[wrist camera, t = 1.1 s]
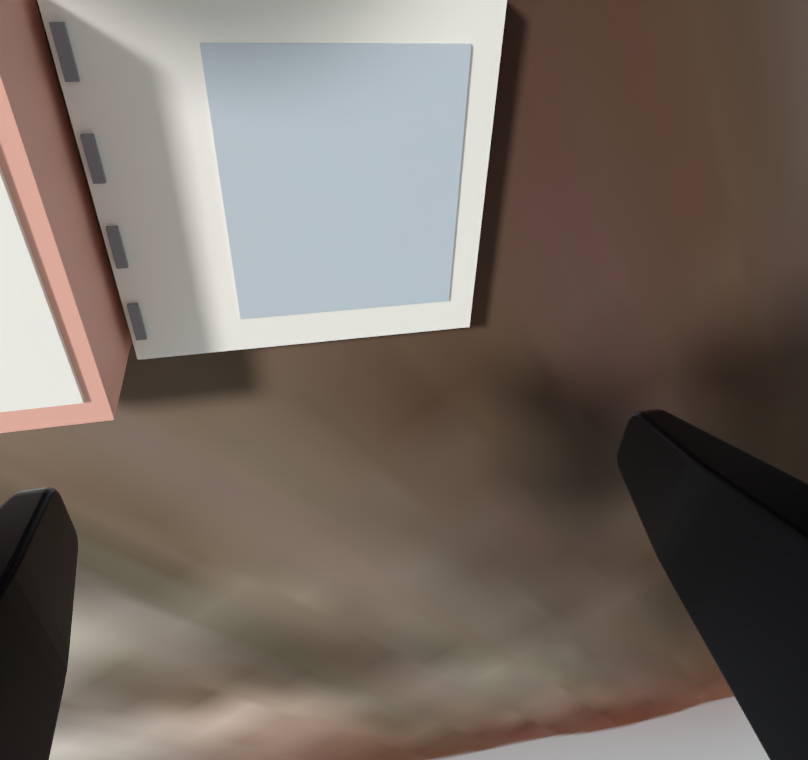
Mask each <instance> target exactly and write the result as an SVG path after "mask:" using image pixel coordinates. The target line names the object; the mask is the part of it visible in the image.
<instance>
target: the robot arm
mask: <svg viewBox="0 0 808 760" xmlns="http://www.w3.org/2000/svg"><path fill="white" fill-rule="evenodd" d="M617 463H618V467H619V470H620V473H621V475H622V477H623V480H624V482H625V484H626V487H627V489H628V491H629V493H630V496H631V498H632V500H633V503H634V505H635V507H636V510H637V512H638V514H639V517H640V519H641V521H642V524H643V526H644V528H645V531H646V533H647V535H648V538H649V540H650V542H651V544H652V547H653V549H654V551H655V553H656V555H657V557H658V559H659V561H660V563H661V565H662V567H663V569H664V571H665V572H666V574H667V576H668V578H669V580H670V581H671V583H672V585H673V587H674V589H675V590H676V592H677V594H678V596H679V598H680V599H681V601H682V603H683V605H684V607H685V608H686V610H687V612H688V614H689V615H690V617H691V619H692V621H693V623H694V624H695V626H696V628H697V630H698V632H699V633H700V635H701V637H702V639H703V640H704V642H705V644H706V646H707V648H708V649H709V651H710V653H711V655H712V657H713V658H714V660H715V662H716V664H717V666H718V667H719V669H720V671H721V673H722V674H723V676H724V678H725V680H726V682H727V683H728V685H729V687H730V689H731V691H732V692H733V694H734V696H735V698H736V699H737V701H738V703H739V705H740V707H741V708H742V710H743V712H744V714H745V715H746V717H747V719H748V721H749V723H750V724H751V726H752V728H753V730H754V732H755V733H756V735H757V737H758V739H759V741H760V742H761V744H762V746H763V748H764V749H765V751H766V753H767V755H768V757H769V759H770V760H808V484H807V483H805V482H803V481H801V480H799V479H797V478H795V477H793V476H791V475H789V474H787V473H785V472H784V471H782V470H780V469H778V468H776V467H774V466H772V465H770V464H768V463H766V462H764V461H762V460H760V459H758V458H756V457H754V456H752V455H750V454H748V453H746V452H744V451H742V450H740V449H738V448H736V447H734V446H732V445H730V444H729V443H727V442H725V441H723V440H721V439H719V438H717V437H715V436H713V435H711V434H709V433H707V432H705V431H703V430H701V429H699V428H697V427H695V426H693V425H691V424H689V423H687V422H685V421H683V420H681V419H679V418H677V417H675V416H674V415H672V414H670V413H668V412H666V411H663V410H659V409H654V410H647V411H639V412H635V413H634V414H633V415H632V416H631V417H630V418H629V420H628V423H627V426H626V429H625V432H624V435H623V438H622V440H621V443H620V446H619V449H618V453H617ZM77 555H78V540H77V534H76V531H75V528H74V526H73V523H72V521H71V519H70V516H69V514H68V512H67V509H66V507H65V505H64V502H63V500H62V498H61V496H60V494H59V492H58V491H57V490H56V489H54V488H50V487H47V488H40V489H32V490H24V491H20V492H17V493H15V494H14V495H12V496H11V497H10V498H9V499H8V500H7V501H6V502H5V503H4V504H3V505H2V506H1V507H0V760H49V755H50V750H51V746H52V741H53V736H54V731H55V727H56V722H57V717H58V712H59V708H60V703H61V698H62V694H63V689H64V683H65V677H66V672H67V665H68V656H69V646H70V635H71V623H72V612H73V600H74V589H75V577H76V566H77Z"/></svg>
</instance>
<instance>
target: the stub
mask: <svg viewBox="0 0 808 760" xmlns="http://www.w3.org/2000/svg"><path fill="white" fill-rule="evenodd" d="M131 343H132V341H131V338H130V334H129V331H128V327H127V324H126V320H125V317H124V313H123V309H122V306H121V302H120V299H119V295H118V292H117V288H116V285H115V281H114V277H113V274H112V270H111V267H110V263H109V260H108V256H107V252H106V249H105V245H104V242H103V238H102V235H101V231H100V228H99V224H98V220H97V217H96V213H95V210H94V206H93V203H92V199H91V195H90V192H89V188H88V185H87V181H86V178H85V174H84V171H83V167H82V163H81V160H80V156H79V153H78V149H77V146H76V142H75V139H74V135H73V131H72V128H71V124H70V121H69V117H68V114H67V110H66V106H65V103H64V99H63V96H62V92H61V89H60V85H59V82H58V78H57V74H56V71H55V67H54V64H53V60H52V57H51V53H50V49H49V46H48V42H47V39H46V35H45V32H44V28H43V25H42V21H41V17H40V14H39V10H38V7H37V3H36V0H0V433H6V432H14V431H23V430H31V429H40V428H48V427H57V426H65V425H74V424H82V423H91V422H99V421H108V420H114V419H115V414H116V410H117V406H118V401H119V397H120V392H121V388H122V383H123V379H124V374H125V370H126V365H127V361H128V356H129V352H130V347H131Z"/></svg>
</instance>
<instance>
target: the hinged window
mask: <svg viewBox="0 0 808 760" xmlns="http://www.w3.org/2000/svg"><path fill="white" fill-rule="evenodd" d="M37 2H38V5H39V9H40V13H41V16H42V20H43V23H44V27H45V30H46V34H47V38H48V41H49V45H50V48H51V52H52V55H53V59H54V63H55V66H56V70H57V73H58V77H59V81H60V84H61V88H62V91H63V95H64V98H65V102H66V106H67V109H68V113H69V116H70V120H71V123H72V127H73V131H74V134H75V138H76V141H77V145H78V148H79V152H80V156H81V159H82V163H83V166H84V170H85V173H86V177H87V181H88V184H89V188H90V191H91V195H92V199H93V202H94V206H95V209H96V213H97V216H98V220H99V224H100V227H101V231H102V234H103V238H104V241H105V245H106V249H107V252H108V256H109V259H110V263H111V266H112V270H113V274H114V277H115V281H116V284H117V288H118V291H119V295H120V299H121V302H122V306H123V309H124V313H125V317H126V320H127V324H128V327H129V331H130V334H131V338H132V342H133V345H134V349H135V352H136V356H137V359H138V360H141V359H151V358H161V357H171V356H182V355H192V354H202V353H212V352H222V351H232V350H242V349H252V348H263V347H273V346H283V345H293V344H303V343H313V342H323V341H333V340H344V339H354V338H364V337H374V336H384V335H394V334H404V333H414V332H425V331H435V330H445V329H455V328H465V327H470V319H471V310H472V301H473V293H474V284H475V275H476V267H477V258H478V249H479V241H480V232H481V223H482V215H483V206H484V197H485V188H486V180H487V171H488V162H489V154H490V145H491V136H492V128H493V119H494V110H495V102H496V93H497V84H498V75H499V67H500V58H501V49H502V41H503V32H504V23H505V15H506V6H507V0H37Z"/></svg>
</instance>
